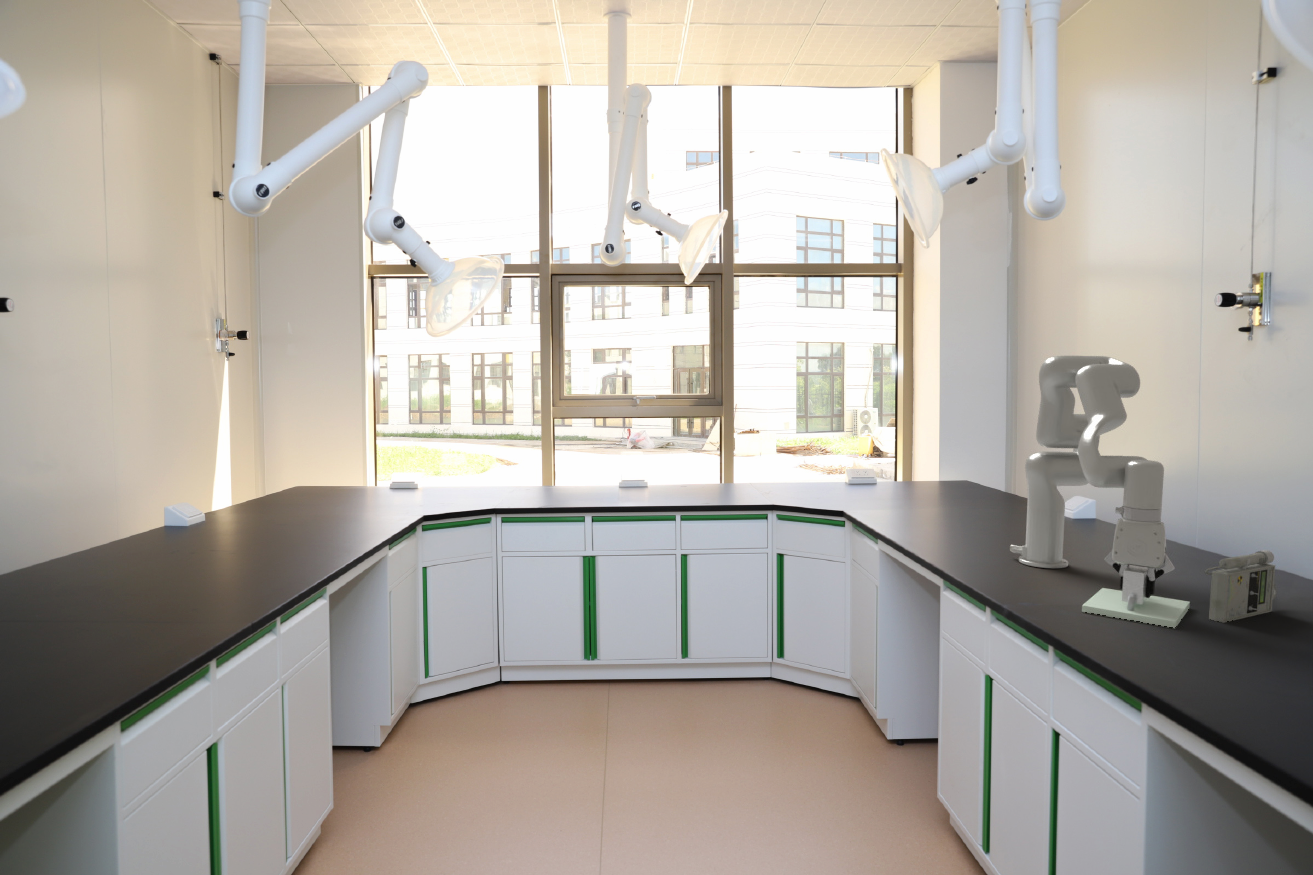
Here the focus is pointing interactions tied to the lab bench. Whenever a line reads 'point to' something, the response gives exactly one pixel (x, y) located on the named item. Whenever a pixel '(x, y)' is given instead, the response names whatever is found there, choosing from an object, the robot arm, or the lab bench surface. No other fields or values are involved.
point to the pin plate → (1137, 608)
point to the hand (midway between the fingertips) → (1136, 593)
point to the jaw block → (1135, 583)
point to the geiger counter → (1242, 587)
